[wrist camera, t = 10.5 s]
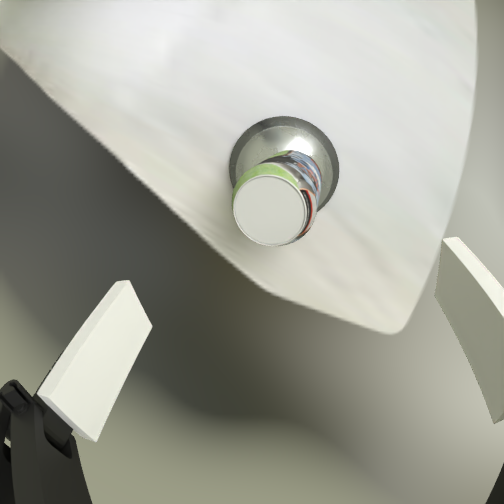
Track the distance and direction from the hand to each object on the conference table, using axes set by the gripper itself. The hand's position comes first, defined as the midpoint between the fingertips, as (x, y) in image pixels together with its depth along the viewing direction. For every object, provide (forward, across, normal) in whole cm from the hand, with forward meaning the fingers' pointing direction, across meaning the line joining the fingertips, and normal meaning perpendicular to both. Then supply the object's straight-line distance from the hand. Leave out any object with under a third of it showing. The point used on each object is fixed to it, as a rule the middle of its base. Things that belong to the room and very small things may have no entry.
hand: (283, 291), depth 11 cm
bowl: (+23, 0, 0) cm, 23 cm away
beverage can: (+20, 0, 0) cm, 20 cm away
